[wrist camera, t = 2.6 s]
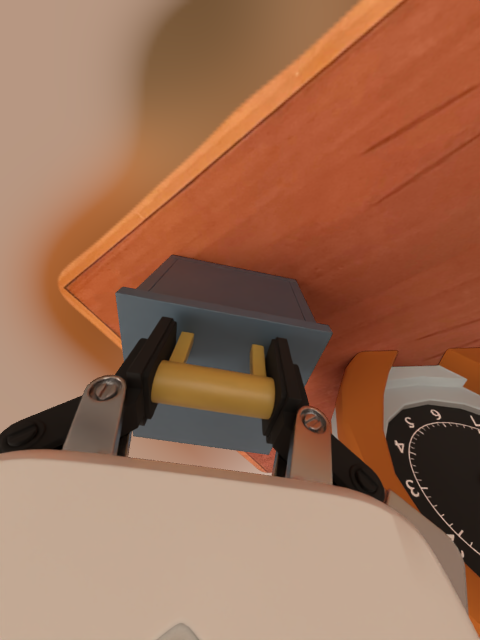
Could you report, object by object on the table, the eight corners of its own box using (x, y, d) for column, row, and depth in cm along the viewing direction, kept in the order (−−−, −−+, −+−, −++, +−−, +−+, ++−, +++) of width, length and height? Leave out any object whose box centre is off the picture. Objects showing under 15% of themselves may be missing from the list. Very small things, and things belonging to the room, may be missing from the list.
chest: (171, 254, 20) (124, 298, 12) (295, 279, 20) (323, 335, 13) (168, 357, 26) (137, 426, 19) (262, 372, 27) (267, 445, 20)
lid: (122, 286, 12) (51, 345, 7) (328, 324, 12) (369, 397, 8) (137, 427, 19) (104, 498, 15) (268, 445, 20) (273, 517, 15)
